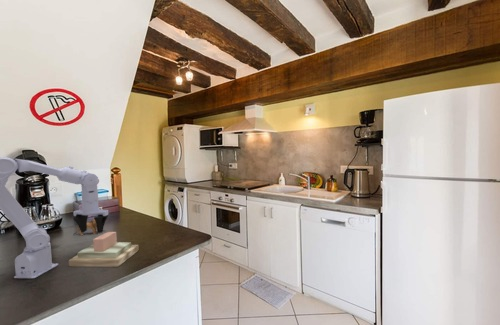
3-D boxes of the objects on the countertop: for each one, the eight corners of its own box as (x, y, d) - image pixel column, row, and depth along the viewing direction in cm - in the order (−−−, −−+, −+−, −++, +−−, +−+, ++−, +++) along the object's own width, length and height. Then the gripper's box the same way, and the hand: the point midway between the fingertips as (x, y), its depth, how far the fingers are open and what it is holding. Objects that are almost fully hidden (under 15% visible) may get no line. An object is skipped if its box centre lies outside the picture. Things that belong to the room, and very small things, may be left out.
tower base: (118, 266, 84) (117, 255, 84) (68, 266, 85) (68, 255, 85) (138, 250, 98) (138, 240, 98) (96, 250, 99) (95, 240, 99)
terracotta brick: (103, 251, 88) (102, 239, 87) (94, 251, 88) (93, 239, 88) (116, 243, 96) (116, 231, 95) (108, 243, 96) (107, 231, 96)
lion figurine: (106, 230, 125) (105, 214, 125) (102, 233, 120) (101, 217, 120) (75, 233, 121) (74, 217, 120) (70, 237, 116) (69, 220, 115)
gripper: (112, 198, 98) (114, 228, 99) (82, 198, 99) (84, 228, 100) (100, 202, 91) (102, 234, 92) (68, 202, 92) (70, 234, 93)
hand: (92, 231), depth 95 cm, fingers open, 7 cm apart
